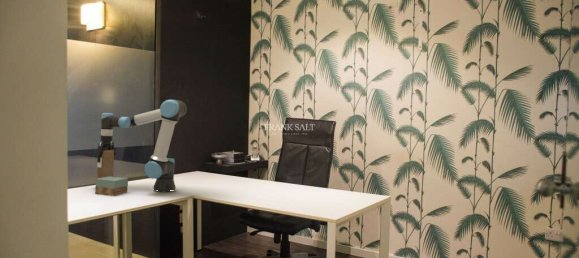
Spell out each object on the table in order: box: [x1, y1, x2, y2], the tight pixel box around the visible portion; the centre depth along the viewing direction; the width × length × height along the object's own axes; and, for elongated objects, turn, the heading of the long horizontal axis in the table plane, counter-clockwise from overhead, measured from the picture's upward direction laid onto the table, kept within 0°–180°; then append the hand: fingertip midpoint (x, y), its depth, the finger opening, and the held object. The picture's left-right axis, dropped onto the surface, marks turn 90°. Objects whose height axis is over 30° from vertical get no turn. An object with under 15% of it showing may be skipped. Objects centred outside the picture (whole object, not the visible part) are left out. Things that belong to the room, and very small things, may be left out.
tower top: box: [95, 175, 129, 189], centre depth 282 cm, size 14×14×5 cm
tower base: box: [94, 186, 128, 197], centre depth 282 cm, size 14×14×5 cm
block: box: [96, 149, 115, 179], centre depth 296 cm, size 10×10×20 cm
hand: (105, 166), depth 296 cm, fingers closed on block, 13 cm apart
